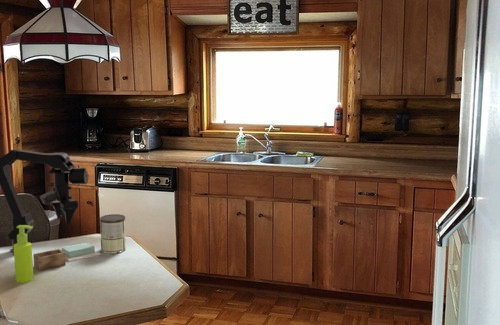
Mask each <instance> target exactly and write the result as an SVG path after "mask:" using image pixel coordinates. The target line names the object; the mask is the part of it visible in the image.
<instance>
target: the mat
mask: <svg viewBox="0 0 500 325" xmlns="http://www.w3.org/2000/svg"><path fill="white" fill-rule="evenodd" d="M100 255H101V253H100V252H98V251H96V250H95V253H91V254H86V255H81V256H77V257H72V258H69V256H67V255H66V254H65V260H66V261H67V262H68V263H69V262H74V261H78V260H83V259H87V258H92V257H93V258H94V257H97V256H100Z"/></svg>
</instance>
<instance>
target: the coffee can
mask: <svg viewBox="0 0 500 325" xmlns="http://www.w3.org/2000/svg"><path fill="white" fill-rule="evenodd" d="M99 221H100V222H99V223H100V227H99V228H100V251H101V252H102V253H104V254H110V253H111V254H118V253H117V252H120V251H123V250H124V249H125V248H126V247H127V246H126V245H127V244H126V216H125V215H123V214H120V213H119V214H118V213H117V214H116V213H113V214H105V215H102V216H100V217H99ZM126 249H127V248H126ZM123 252H124V251H123ZM120 253H121V252H120Z"/></svg>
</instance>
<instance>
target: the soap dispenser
mask: <svg viewBox="0 0 500 325" xmlns="http://www.w3.org/2000/svg"><path fill="white" fill-rule="evenodd" d="M17 228H19V234H18V235H17V243H16V244H14V253H13V254H14V255H13V256H14V257H13V259H14V260H13V261H14V273H15V275H14V276H15V282H16V283H19V284H20V283H22V284H23V283H28V282H32V281H33V280H34V261H33V247H32V243H31V242H29V241H28V235H27V234H25V232H24V228H27V229H31V228H34V226H33V227H32V226H29V225H19V226H17Z"/></svg>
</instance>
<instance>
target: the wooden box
mask: <svg viewBox="0 0 500 325" xmlns="http://www.w3.org/2000/svg"><path fill="white" fill-rule="evenodd" d="M32 257H33V268H35V269H37V270H38V271H39V272H40V271H45V270H50V269H54V268H59V267H64V266H66V264H67V262H66V261H67V260H66V259H65V252H63V251H62V249H60V248H56V249H52V250H51V249H50V250H47V251H40V252H36V253H32Z"/></svg>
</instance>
